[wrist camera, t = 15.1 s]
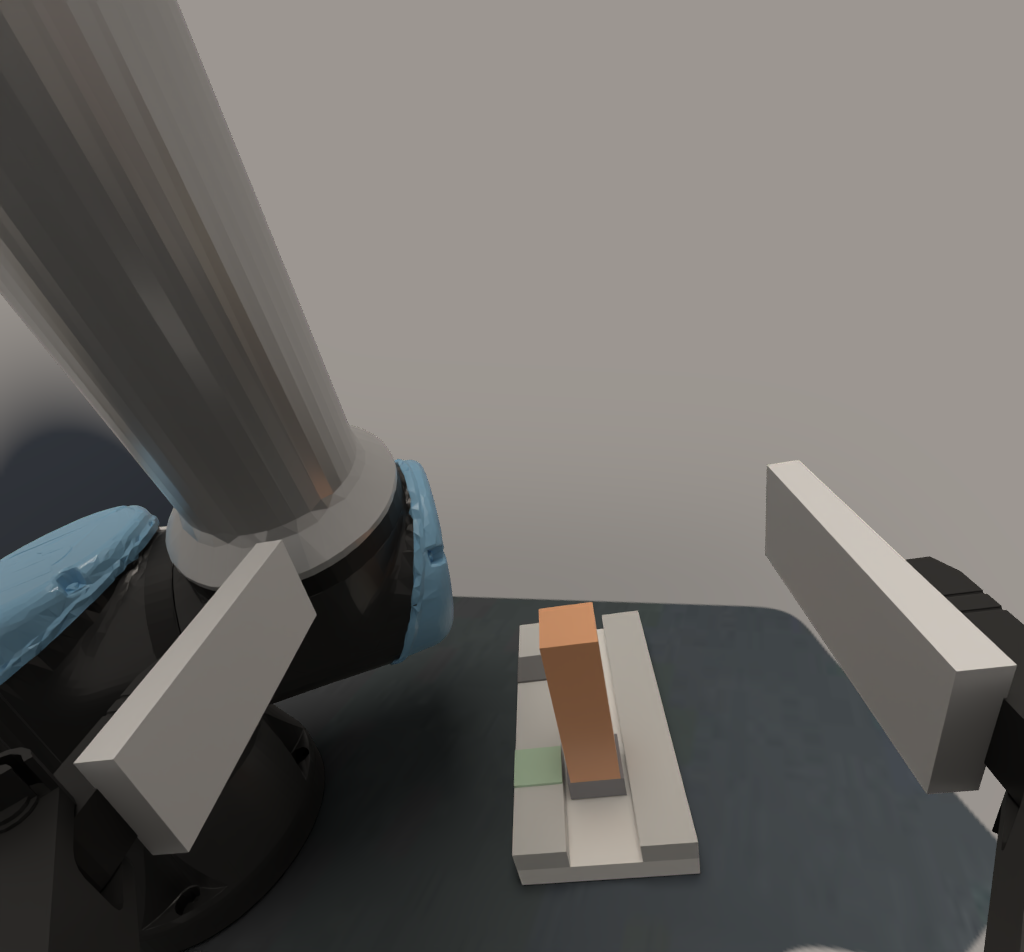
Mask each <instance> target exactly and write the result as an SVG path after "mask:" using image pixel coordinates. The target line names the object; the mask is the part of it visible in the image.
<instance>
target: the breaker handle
mask: <svg viewBox="0 0 1024 952" xmlns="http://www.w3.org/2000/svg"><path fill="white" fill-rule="evenodd" d="M539 649H540V653H541V657H542V662H543V666H544V670H545V675H546V679H547V683H548V688H549V692H550V696H551V700H552V705H553V709H554V713H555V718H556V722H557V726H558V731H559V735H560V739H561V743H562V748H563V752H564V756H565V761H566V768H567V784H568V788H569V792H570V796H571V799H583V798H595V797H607V796H619V795H627V793H626V787H625V781H624V774H623V768H622V762H621V756H620V749H619V743H618V737H617V734H614V732H613V726H612V720H611V713H610V707H609V701H608V695H607V689H606V683H605V677H604V671H603V665H602V659H601V653H600V647H599V641H598V635H597V629H596V623H595V616H594V610H593V604H592V602H589V603H581V604H574V605H566V606H558V607H550V608H543V609H539Z"/></svg>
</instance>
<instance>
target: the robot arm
mask: <svg viewBox="0 0 1024 952" xmlns="http://www.w3.org/2000/svg"><path fill="white" fill-rule="evenodd" d="M0 293H1V295H2V296H3V297H4V298H5V300H6V301H7V302H8V303H9V305H10V306H11V307H12V308H13V309H14V311H15V312H16V313H17V314H18V316H19V317H20V318H21V319H22V321H23V322H24V323H25V324H26V326H27V327H28V328H29V329H30V330H31V332H32V333H33V334H34V335H35V337H36V338H37V339H38V340H39V342H40V343H41V344H42V345H43V346H44V348H45V349H46V350H47V351H48V352H49V354H50V355H51V356H52V357H53V359H54V360H55V361H56V362H57V364H58V365H59V366H60V367H61V369H62V370H63V371H64V372H65V373H66V375H67V376H68V377H69V378H70V380H71V381H72V382H73V383H74V384H75V386H76V387H77V388H78V389H79V391H80V392H81V393H82V394H83V396H84V397H85V398H86V399H87V401H88V402H89V403H90V404H91V406H92V407H93V408H94V409H95V410H96V412H97V413H98V414H99V415H100V417H101V418H102V419H103V420H104V421H105V423H106V424H107V425H108V426H109V428H110V429H111V430H112V431H113V433H114V434H115V435H116V436H117V438H118V439H119V440H120V441H121V442H122V444H123V445H124V446H125V447H126V449H127V450H128V451H129V452H130V453H131V455H132V456H133V457H134V458H135V460H136V461H137V462H138V463H139V464H140V466H141V467H142V468H143V470H144V471H145V472H146V473H147V475H148V476H149V477H150V478H151V479H152V481H153V482H154V483H155V484H156V485H157V487H158V488H159V489H160V491H161V492H162V493H163V494H164V495H165V497H166V498H167V499H168V500H169V502H170V503H171V504H172V505H173V507H174V508H173V510H172V513H171V515H170V517H169V521H168V525H167V528H166V529H165V530H161V529H160V528H159V520H158V519H157V517H156V516H153V515H151V514H150V513H149V512H148V511H147V510H146V509H145V508H143V507H141V506H135V505H131V506H129V507H127V506H118V507H114V508H110V509H107V510H103V511H100V512H97V513H95V514H92V515H89V516H87V517H84V518H81V519H79V520H77V521H74V522H72V523H70V524H68V525H65V526H63V527H61V528H59V529H57V530H55V531H53V532H51V533H48V534H46V535H44V536H42V537H40V538H38V539H37V540H35V541H33V542H31V543H29V544H27V545H25V546H23V547H21V548H20V549H18V550H16V551H14V552H13V553H11V554H9V555H8V556H6V557H4V558H2V559H1V560H0V952H179V951H182V950H184V949H187V948H189V947H192V946H194V945H196V944H198V943H200V942H202V941H204V940H206V939H208V938H210V937H211V936H213V935H215V934H216V933H218V932H219V931H221V930H222V929H224V928H225V927H227V926H228V925H230V924H231V923H232V922H234V921H235V920H236V919H238V918H239V917H240V916H242V915H243V914H244V913H245V912H246V911H248V910H249V909H250V908H251V907H252V906H253V905H254V904H255V903H257V902H258V901H259V900H260V899H261V898H262V897H263V896H264V895H265V894H266V893H267V892H268V891H269V890H270V888H271V887H272V886H273V885H274V884H275V883H276V882H277V881H278V879H279V878H280V877H281V876H282V875H283V873H284V872H285V871H286V870H287V868H288V867H289V866H290V864H291V863H292V861H293V860H294V858H295V857H296V856H297V854H298V852H299V851H300V849H301V848H302V846H303V844H304V842H305V841H306V839H307V837H308V835H309V833H310V831H311V829H312V827H313V825H314V822H315V820H316V817H317V815H318V812H319V809H320V805H321V802H322V797H323V792H324V783H325V772H324V765H323V761H322V757H321V755H320V753H319V751H318V749H317V747H316V745H315V743H314V742H313V740H312V738H311V736H310V734H309V733H308V731H307V730H306V729H305V728H304V727H303V726H302V724H301V723H300V722H298V721H297V720H296V719H294V718H293V717H291V716H290V715H288V714H287V713H285V712H284V711H282V710H281V709H279V708H278V707H276V706H275V705H273V703H276V702H279V701H282V700H285V699H287V698H290V697H293V696H296V695H299V694H302V693H305V692H307V691H310V690H313V689H316V688H319V687H322V686H325V685H328V684H330V683H333V682H336V681H339V680H342V679H345V678H348V677H351V676H354V675H357V674H360V673H363V672H366V671H369V670H372V669H375V668H378V667H381V666H384V665H387V664H391V665H393V664H398V663H400V662H402V661H403V660H405V659H406V657H407V656H409V655H412V654H414V653H417V652H419V651H422V650H424V649H427V648H429V647H431V646H434V645H436V644H438V643H439V642H441V641H442V640H443V639H444V638H445V637H446V636H447V634H448V633H449V631H450V629H451V626H452V623H453V597H452V589H451V582H450V575H449V570H448V564H447V560H446V557H445V554H444V552H443V548H444V546H443V541H442V534H441V528H440V523H439V519H438V515H437V511H436V507H435V503H434V499H433V495H432V492H431V489H430V485H429V482H428V479H427V476H426V473H425V472H424V469H423V467H422V466H421V464H420V463H418V462H417V461H414V460H405V461H403V460H400V459H397V460H395V461H394V459H393V456H392V454H391V453H390V451H389V450H388V448H387V447H386V445H385V444H384V443H383V441H382V440H380V439H379V438H378V437H376V436H375V435H374V434H372V433H370V432H368V431H366V430H364V429H361V428H359V427H356V426H352V425H349V424H348V422H347V419H346V417H345V414H344V412H343V409H342V407H341V404H340V402H339V399H338V397H337V395H336V392H335V390H334V387H333V385H332V382H331V380H330V377H329V375H328V372H327V370H326V367H325V365H324V362H323V360H322V357H321V355H320V352H319V350H318V348H317V345H316V343H315V340H314V338H313V335H312V333H311V330H310V328H309V325H308V323H307V320H306V318H305V316H304V313H303V310H302V308H301V306H300V303H299V301H298V298H297V296H296V293H295V291H294V288H293V286H292V283H291V281H290V278H289V276H288V274H287V271H286V269H285V266H284V264H283V261H282V259H281V256H280V254H279V251H278V249H277V246H276V244H275V241H274V239H273V236H272V234H271V232H270V229H269V227H268V224H267V222H266V219H265V217H264V214H263V212H262V209H261V207H260V204H259V202H258V200H257V197H256V195H255V192H254V190H253V187H252V185H251V182H250V180H249V177H248V175H247V172H246V170H245V167H244V165H243V163H242V160H241V158H240V155H239V153H238V150H237V148H236V146H235V143H234V140H233V138H232V135H231V133H230V131H229V128H228V126H227V123H226V121H225V118H224V116H223V113H222V111H221V108H220V106H219V103H218V101H217V99H216V96H215V93H214V91H213V88H212V86H211V84H210V81H209V79H208V76H207V74H206V71H205V69H204V66H203V64H202V61H201V59H200V56H199V54H198V52H197V49H196V47H195V44H194V42H193V39H192V37H191V34H190V32H189V29H188V27H187V24H186V22H185V19H184V17H183V15H182V12H181V10H180V7H179V5H178V3H177V0H0ZM765 541H766V542H765V555H766V556H767V558H768V559H769V561H770V562H771V563H772V565H773V567H774V568H775V570H776V571H777V573H778V574H779V576H780V577H781V579H782V580H783V582H784V583H785V585H786V586H787V587H788V589H789V590H790V592H791V593H792V595H793V596H794V598H795V599H796V601H797V602H798V604H799V605H800V607H801V608H802V610H803V611H804V613H805V614H806V616H807V617H808V619H809V620H810V622H811V623H812V624H813V626H814V628H815V629H816V630H817V632H818V633H819V635H820V636H821V638H822V639H823V641H824V642H825V644H826V645H827V647H828V648H829V650H830V651H831V653H832V654H833V656H834V657H835V659H836V660H837V662H838V663H839V665H840V666H841V668H842V669H843V671H844V672H845V674H846V675H847V676H848V678H849V679H850V681H851V682H852V684H853V685H854V687H855V688H856V690H857V691H858V693H859V694H860V696H861V697H862V699H863V700H864V702H865V703H866V705H867V706H868V708H869V709H870V711H871V712H872V714H873V715H874V717H875V718H876V719H877V721H878V722H879V724H880V725H881V727H882V728H883V730H884V731H885V733H886V734H887V736H888V737H889V739H890V740H891V742H892V743H893V745H894V746H895V748H896V749H897V751H898V752H899V754H900V755H901V757H902V758H903V760H904V761H905V762H906V764H907V765H908V767H909V768H910V770H911V771H912V773H913V774H914V776H915V777H916V779H917V780H918V782H919V783H920V785H921V786H922V788H923V789H924V791H925V792H926V794H935V793H948V792H960V791H973V790H979V787H980V783H981V780H982V777H983V774H984V770H985V767H986V766H987V767H988V768H989V770H990V771H991V772H992V773H993V775H994V776H995V777H996V778H997V780H998V781H999V782H1000V783H1001V784H1002V786H1003V787H1004V788H1005V789H1006V792H1005V795H1004V798H1003V801H1002V803H1001V806H1000V809H999V812H998V815H997V818H996V821H995V824H994V827H993V829H992V831H993V832H995V833H997V834H998V839H997V848H996V856H995V864H994V872H993V880H992V889H991V897H990V905H989V913H988V922H987V930H986V938H985V947H984V952H1024V625H1023V624H1022V623H1021V622H1020V621H1019V620H1018V619H1016V618H1015V617H1014V616H1013V615H1012V614H1010V613H1009V612H1008V611H1007V610H1002V607H1001V605H1000V604H998V603H997V602H996V601H995V600H994V599H993V598H991V597H990V596H989V595H988V594H984V593H983V590H982V589H981V588H979V587H978V586H977V585H976V584H975V583H974V582H972V581H971V580H970V579H969V578H968V577H967V576H965V575H964V574H963V573H962V572H960V571H959V570H957V569H955V568H952V567H951V566H948V565H946V564H944V563H942V562H940V561H938V560H936V559H934V558H932V557H923V558H915V559H907V560H905V559H903V558H902V557H901V556H900V555H899V554H898V553H897V552H896V551H895V550H894V549H893V548H892V547H891V546H890V545H889V544H888V543H886V542H885V541H884V540H883V539H882V538H881V537H880V536H879V535H878V534H877V533H876V532H875V531H874V530H873V529H872V528H870V527H869V526H868V525H867V524H866V523H865V522H864V521H863V520H862V519H861V518H860V517H859V516H858V515H857V514H856V513H855V512H854V511H852V510H851V509H850V508H849V507H848V506H847V505H846V504H845V503H844V502H843V501H842V500H841V499H840V498H838V496H836V495H835V494H834V493H833V492H832V491H831V490H830V489H829V488H828V487H827V486H826V485H825V484H824V483H823V482H822V481H820V480H819V479H818V478H817V477H816V476H815V475H814V474H813V473H812V472H811V471H810V470H809V469H808V468H807V467H806V466H805V465H803V464H802V463H801V462H800V461H799V460H796V461H790V462H783V463H776V464H770V465H767V485H766V539H765Z"/></svg>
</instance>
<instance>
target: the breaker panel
mask: <svg viewBox="0 0 1024 952" xmlns="http://www.w3.org/2000/svg"><path fill="white" fill-rule="evenodd" d="M602 620H603V626H604V629H597V635H598V641H599V647H600V653H601V659H602V665H603V671H604V677H605V683H606V689H607V695H608V701H609V707H610V713H611V720H612V726H613V732H614V734H617V737H618V743H619V749H620V756H621V762H622V768H623V774H624V781H625V787H626V793H627V795H619V796H607V797H595V798H583V799H571V796H570V792H569V788H568V784H567V768H566V761H565V756H564V752H563V748H562V743H561V739H560V735H559V731H558V726H557V722H556V718H555V713H554V709H553V705H552V700H551V696H550V692H549V688H548V683H547V679H546V675H545V670H544V666H543V662H542V657H541V653H540V649H539V623H536V624H528V625H520V637H519V657H518V680H517V682H518V697H517V727H516V750H515V766H514V816H513V846H512V856H513V859H514V862H515V865H516V868H517V871H518V874H519V877H520V880H521V883H522V885H531V884H547V883H562V882H577V881H593V880H608V879H623V878H638V877H654V876H669V875H684V874H700V863H699V848H698V840H697V836H696V832H695V828H694V825H693V821H692V817H691V813H690V809H689V805H688V802H687V798H686V794H685V790H684V786H683V782H682V779H681V775H680V771H679V767H678V763H677V759H676V755H675V752H674V748H673V744H672V740H671V736H670V732H669V729H668V725H667V721H666V717H665V713H664V709H663V706H662V702H661V698H660V694H659V690H658V686H657V683H656V679H655V675H654V671H653V667H652V663H651V659H650V656H649V652H648V648H647V644H646V640H645V636H644V633H643V629H642V625H641V621H640V617H639V613H638V611H632V612H624V613H616V614H608V615H602Z"/></svg>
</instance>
